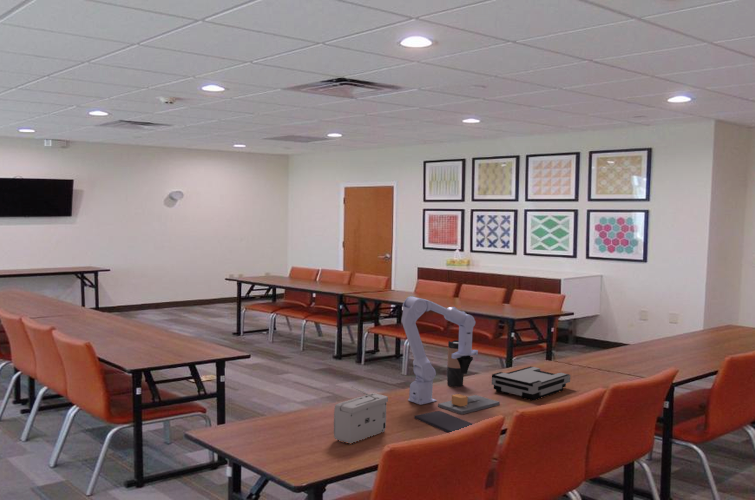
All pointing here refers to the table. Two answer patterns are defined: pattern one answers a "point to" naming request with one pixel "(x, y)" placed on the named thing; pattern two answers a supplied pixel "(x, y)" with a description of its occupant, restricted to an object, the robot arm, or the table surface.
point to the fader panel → (470, 405)
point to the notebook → (443, 421)
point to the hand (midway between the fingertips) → (464, 373)
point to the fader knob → (459, 400)
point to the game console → (529, 382)
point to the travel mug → (453, 366)
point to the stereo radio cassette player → (360, 417)
